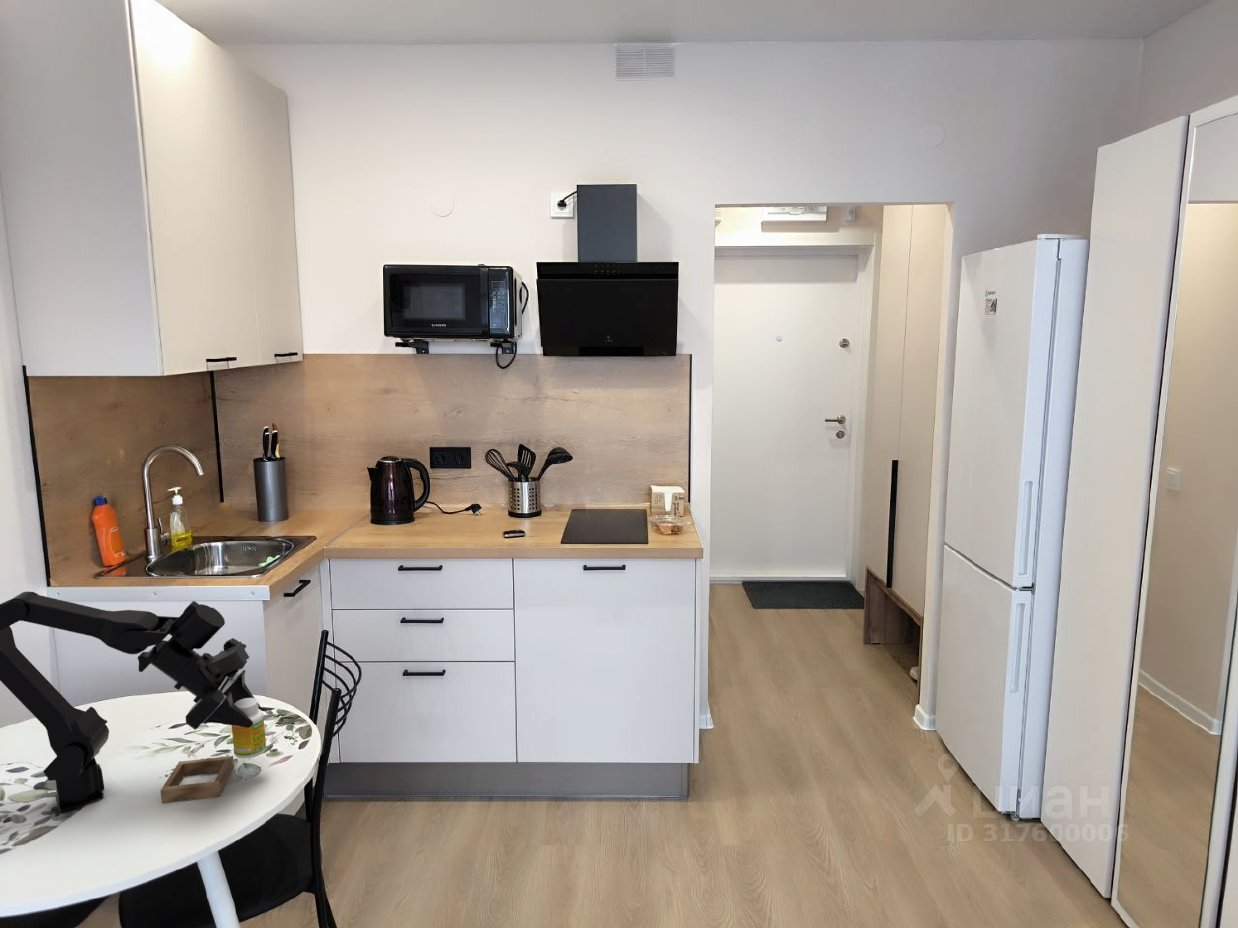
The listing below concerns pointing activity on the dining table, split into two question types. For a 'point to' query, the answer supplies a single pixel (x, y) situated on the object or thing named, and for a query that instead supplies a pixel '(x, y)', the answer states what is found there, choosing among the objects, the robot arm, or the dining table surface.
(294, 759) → the dining table surface
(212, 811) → the dining table surface
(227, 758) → the walnut collar
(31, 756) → the dining table surface
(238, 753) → the supplement bottle
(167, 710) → the dining table surface
